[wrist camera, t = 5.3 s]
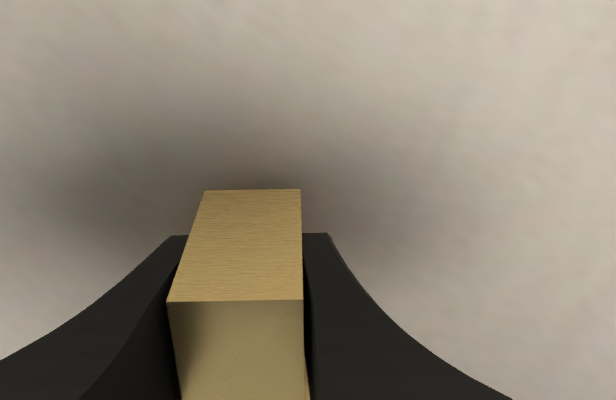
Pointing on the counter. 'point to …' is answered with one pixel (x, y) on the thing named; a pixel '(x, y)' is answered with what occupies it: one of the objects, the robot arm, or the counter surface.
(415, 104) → the counter surface
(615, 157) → the counter surface
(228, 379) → the brass fitting
